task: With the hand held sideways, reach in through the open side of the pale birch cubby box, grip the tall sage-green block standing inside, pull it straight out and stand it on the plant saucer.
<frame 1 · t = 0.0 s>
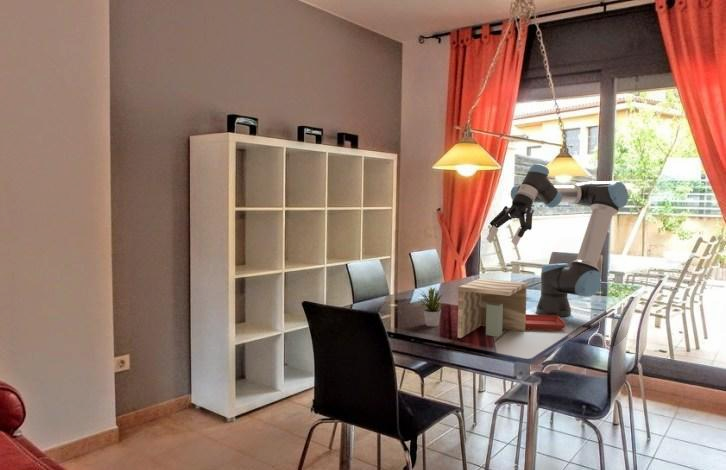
hand: (500, 242, 210), 36 cm above the table, tool tilted 35°, fingers open, 13 cm apart
cubby box: (494, 334, 210), on the table
tall block: (494, 334, 210), on the table
plant saucer: (539, 327, 224), on the table
house plant: (430, 324, 226), on the table
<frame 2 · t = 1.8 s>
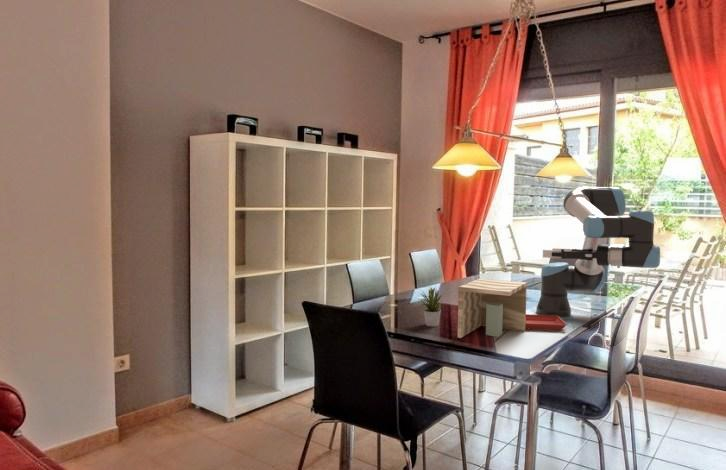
hand: (547, 252, 200), 33 cm above the table, tool horizontal, fingers open, 13 cm apart
nothing on the table moved.
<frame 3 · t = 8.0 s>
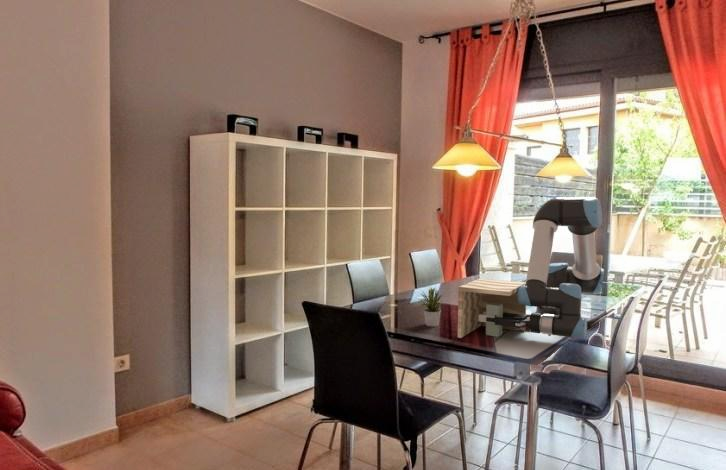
hand: (481, 316, 212), 7 cm above the table, tool horizontal, fingers closed on tall block, 5 cm apart
tall block: (494, 334, 210), on the table, touching gripper
everything else where it was.
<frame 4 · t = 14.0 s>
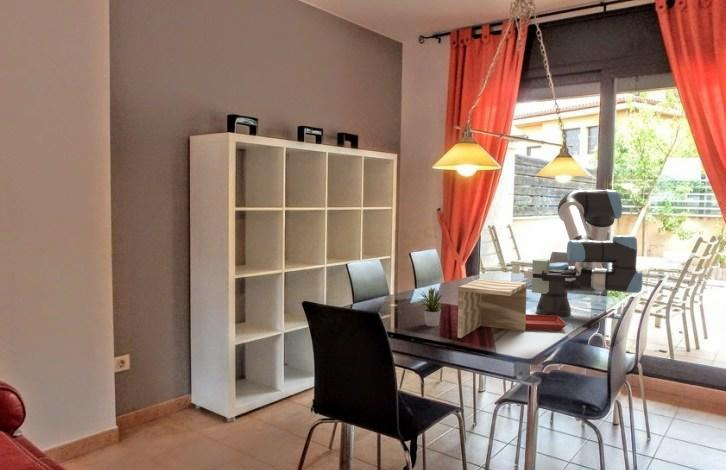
hand: (526, 273, 201), 25 cm above the table, tool horizontal, fingers closed on tall block, 5 cm apart
tall block: (540, 292, 199), point 18 cm above the table, touching gripper
everything else where it was.
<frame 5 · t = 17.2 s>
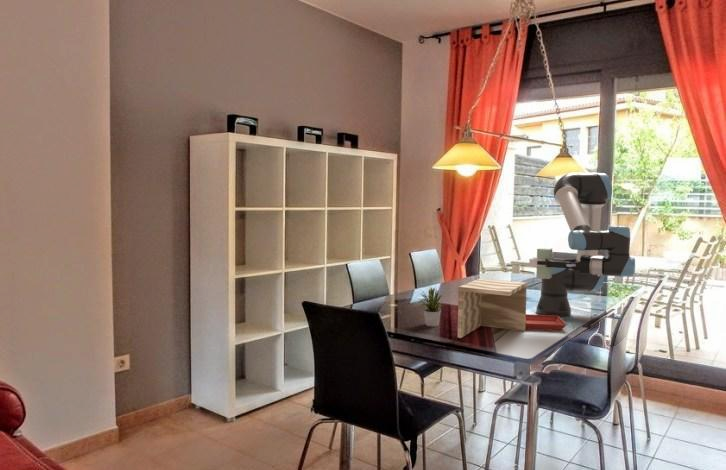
hand: (531, 261, 224), 27 cm above the table, tool horizontal, fingers closed on tall block, 5 cm apart
tall block: (543, 277, 221), point 20 cm above the table, touching gripper
everything else where it was.
when the fingers open (11 cm above the table, at t = 20.2 s): tall block drops 2 cm, point 3 cm above the table.
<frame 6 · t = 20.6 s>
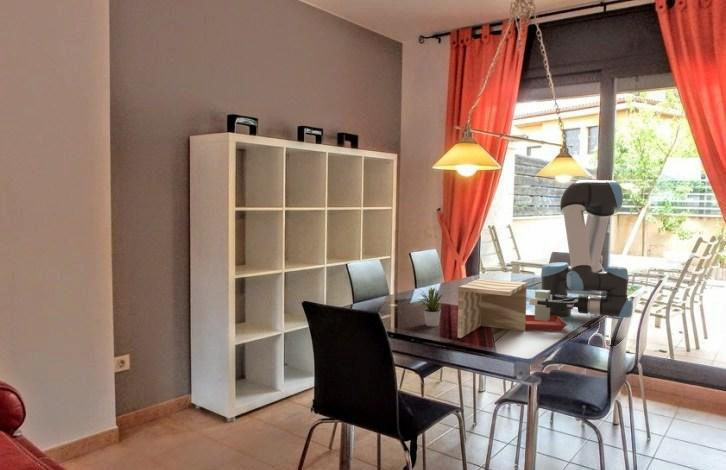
hand: (532, 298, 225), 11 cm above the table, tool horizontal, fingers open, 11 cm apart
tall block: (542, 319, 223), point 3 cm above the table
everything else where it was.
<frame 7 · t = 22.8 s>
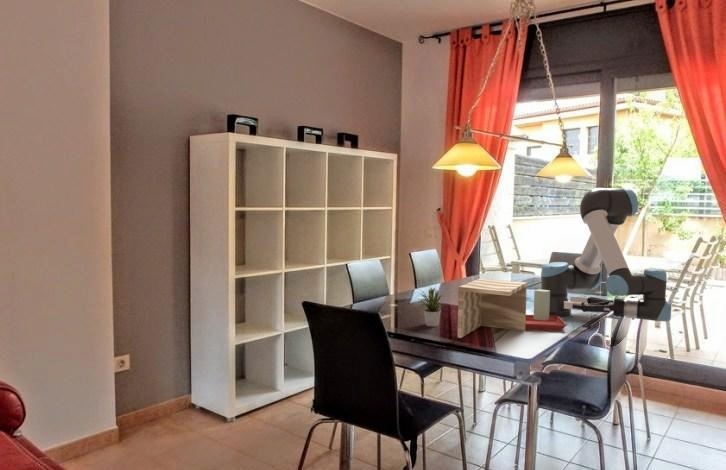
hand: (567, 302, 218), 11 cm above the table, tool horizontal, fingers open, 13 cm apart
nothing on the table moved.
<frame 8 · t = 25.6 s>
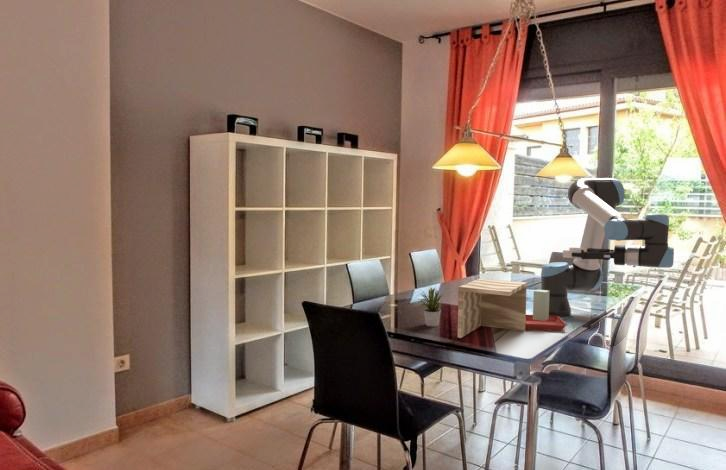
hand: (566, 252, 211), 32 cm above the table, tool horizontal, fingers open, 13 cm apart
tall block: (540, 319, 224), point 3 cm above the table, touching plant saucer
plant saucer: (539, 327, 224), on the table, touching tall block
everything else where it was.
at the end: tall block inside the target area on the plant saucer (0.3 cm from its centre), point 3.5 cm above the plant saucer's base; tall block tilted 0°; the gripper is holding nothing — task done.
